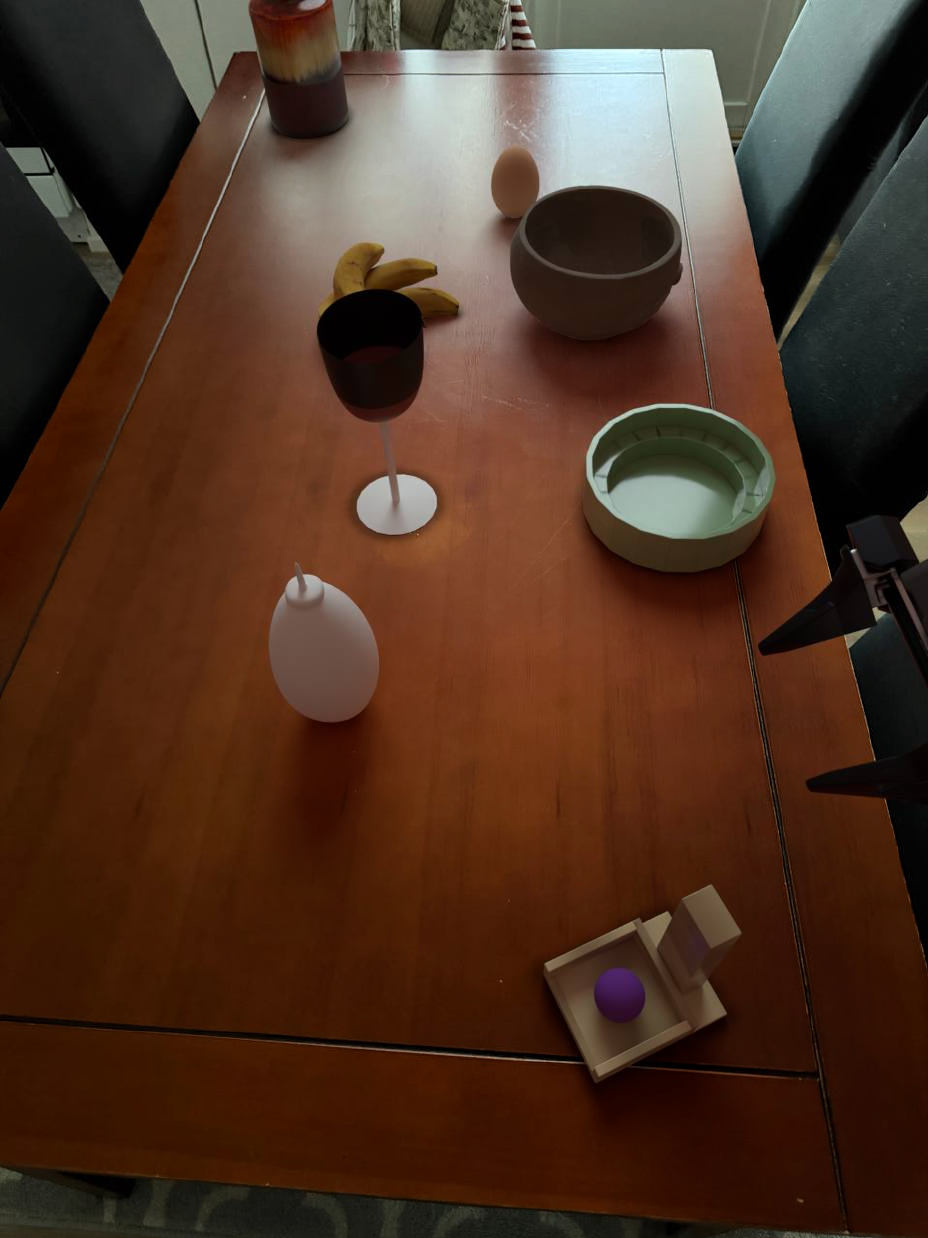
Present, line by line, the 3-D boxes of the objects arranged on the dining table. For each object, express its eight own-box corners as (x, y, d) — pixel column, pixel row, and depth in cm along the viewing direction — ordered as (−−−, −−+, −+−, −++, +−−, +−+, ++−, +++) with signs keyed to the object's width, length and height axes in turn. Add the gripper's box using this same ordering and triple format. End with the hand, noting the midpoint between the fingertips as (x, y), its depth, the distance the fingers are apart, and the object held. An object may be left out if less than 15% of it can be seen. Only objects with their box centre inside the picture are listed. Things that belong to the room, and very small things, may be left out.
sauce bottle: (389, 659, 74) (360, 514, 60) (384, 744, 70) (352, 611, 55) (295, 661, 75) (243, 517, 60) (284, 746, 70) (225, 614, 55)
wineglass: (345, 536, 82) (304, 359, 66) (364, 467, 87) (330, 286, 71) (431, 543, 81) (412, 365, 65) (445, 472, 86) (430, 291, 70)
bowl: (692, 285, 101) (709, 200, 93) (635, 382, 92) (647, 298, 84) (551, 248, 106) (555, 165, 98) (484, 337, 97) (482, 253, 89)
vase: (354, 131, 123) (331, -44, 106) (276, 143, 122) (240, -31, 105) (342, 94, 129) (318, -77, 113) (267, 105, 128) (232, -65, 111)
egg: (532, 231, 108) (534, 162, 101) (486, 225, 109) (485, 157, 102) (543, 204, 111) (545, 136, 104) (497, 199, 112) (497, 132, 106)
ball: (627, 998, 59) (657, 976, 57) (622, 1041, 57) (653, 1019, 55) (587, 972, 59) (616, 949, 57) (580, 1014, 56) (611, 991, 55)
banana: (326, 390, 93) (316, 345, 89) (319, 280, 104) (310, 235, 100) (472, 373, 94) (470, 327, 89) (450, 265, 105) (447, 220, 100)
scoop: (666, 913, 62) (699, 847, 51) (725, 1016, 58) (773, 966, 48) (542, 973, 60) (550, 917, 50) (595, 1084, 56) (615, 1047, 46)
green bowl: (776, 465, 85) (789, 426, 81) (742, 596, 77) (755, 560, 72) (609, 427, 89) (614, 387, 85) (559, 548, 80) (562, 510, 76)
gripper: (987, 407, 47) (702, 523, 53) (1187, 719, 37) (805, 824, 42) (996, 521, 56) (749, 611, 61) (1161, 802, 45) (845, 882, 51)
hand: (782, 715), depth 54 cm, fingers open, 9 cm apart
